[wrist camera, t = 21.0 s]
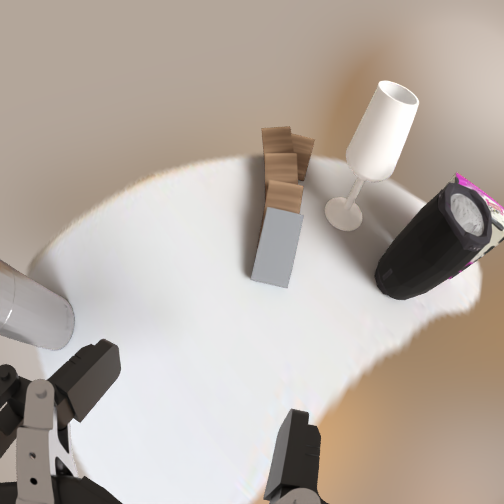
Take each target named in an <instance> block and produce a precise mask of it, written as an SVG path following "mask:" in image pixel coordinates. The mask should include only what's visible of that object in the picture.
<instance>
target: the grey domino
mask: <svg viewBox="0 0 504 504" xmlns="http://www.w3.org/2000/svg"><path fill="white" fill-rule="evenodd" d="M303 217H304V215H301V214H297V213H292V212H288V211H284V210H279V209H275V208H270V207H267V211H266V216H265V220H264V224H263V229H262V233H261V237H260V242H259V246H258V250H257V255H256V259H255V263H254V267H253V272H252V276H251V280H253V281H257V282H262V283H266V284H270V285H275V286H279V287H283V288H288V284H289V280H290V275H291V271H292V267H293V262H294V258H295V254H296V249H297V245H298V240H299V236H300V231H301V226H302V222H303Z"/></svg>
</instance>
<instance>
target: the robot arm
mask: <svg viewBox="0 0 504 504" xmlns="http://www.w3.org/2000/svg"><path fill="white" fill-rule="evenodd" d="M73 329H74V314H73V310H72V308H71V306H70V304H69V303H68V301H67V300H66V299H64V298H63V297H61V296H59V295H57V294H55V293H54V292H52V291H50V290H49V289H47V288H45V287H43V286H42V285H40V284H38V283H37V282H35V281H33V280H32V279H30V278H28V277H27V276H25V275H24V274H22V273H20V272H19V271H17V270H16V269H14V268H12V267H11V266H10V265H8V264H7V263H5V262H3V261H2V260H0V335H1V336H5V337H7V338H11V339H14V340H17V341H20V342H24V343H27V344H31V345H34V346H37V347H41V348H45V349H49V350H59V349H62V348H63V347H64V346H65V345H66V344H67V343H68V342H69V340H70V338H71V336H72V333H73ZM120 371H121V364H120V357H119V348H118V346H117V345H115V344H113V343H111V342H109V341H107V340H106V339H101V340H100V341H99V342H98V343H97V344H96V345H95V346H94V345H92V344H90V345H88V346H85V347H83V348H81V349H80V350H79V351H78V352H77V353H76V354H75V356H72V357H71V358H70V359H69V361H67V362H66V363H65V364H64V365H63V366H62V367H61V368H60V369H58V370H57V371H56V372H55V373H54V374H53V375H52V376H51V377H50V378H49V379H47V380H44V379H38V380H34V381H30V380H27V379H25V378H23V377H20V376H18V374H17V373H16V370H15V369H14V368H13V367H12V366H11V365H7V364H5V365H1V366H0V408H1V407H2V406H3V405H4V404H5V403H6V402H7V404H6V405H5V407H4V408H3V409H2V410H1V411H0V458H1V457H2V456H3V454H4V453H5V452H6V450H7V449H8V448H9V446H10V445H11V444H12V442H13V441H14V440H15V439H16V437H17V441H16V442H17V443H16V471H17V482H5V483H0V504H122V503H121V502H120V501H119V500H117V499H116V498H115V497H114V496H113V495H112V494H110V493H109V492H108V491H107V490H106V489H105V488H103V487H101V486H100V485H98V484H96V483H95V482H93V481H91V480H90V479H88V478H87V477H85V476H84V477H83V478H82V479H81V478H78V472H77V468H76V465H75V462H74V460H73V455H72V444H71V428H70V421H71V420H72V419H73V418H74V419H76V420H77V421H78V422H80V423H81V421H82V420H83V419H84V418H85V416H86V415H87V414H88V413H89V412H90V410H91V409H92V408H93V407H94V406H95V404H96V403H97V402H98V401H99V400H100V398H101V397H102V396H103V395H104V394H105V392H106V391H107V390H108V389H109V388H110V386H111V385H112V384H113V383H114V382H115V381H116V379H117V378H118V376H119V374H120ZM308 420H309V413H308V412H305V411H300V410H295V409H291V410H290V411H289V413H288V415H287V417H286V418H285V420H284V422H283V423H282V425H281V427H280V429H279V432H278V435H277V439H276V444H275V449H274V454H273V459H272V463H271V468H270V473H269V477H268V481H267V486H266V490H265V494H264V498H263V499H264V500H269V501H270V503H269V504H328V503H326V502H325V501H323V500H322V499H321V498H320V496H319V494H318V491H317V480H318V470H319V456H320V444H321V442H320V441H321V435H320V433H319V430H318V428H317V426H314V425H308Z"/></svg>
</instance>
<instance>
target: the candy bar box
mask: <svg viewBox="0 0 504 504" xmlns="http://www.w3.org/2000/svg"><path fill="white" fill-rule="evenodd" d="M449 182H450V183H458V184H460V185H463V186H465V187H468V188H470V189H473V190H476V191H477V192H478V194H479V195H480V196H481V197H482V198H483V199H484V200H485V201H486V203H487V205H488V207H489V209H490V211H491V216H492V236H491V240H490V243H489V244H487V245H486V246H485V247H484V248H483V249H482V250H481V251H480V252H479V253H478V254H477V255H476V256H475V257H474V258H473V259H472V260H471V261H470V262H469V263H468V264H467V265H466V266H465V267H464V268H463V269H462V270H460V271H459V272H457V273H456V274H454V275H453V276H451V277H450V278H449V279H451V278H453V277H454V276H456V275H457V274H459V273H460V272H462V271H463V270H464V269H466V268H467V267H469V266H470V265H471V264H473V263H474V262H476V261H477V260H478V259H479V258H481V257H482V256H484V255H485V254H486V253H488V252H489V251H490V250H492V249H493V248H494V247H495V246H497V245H498V244H499V243H500V242H502V241H503V240H504V208H503V207H502V206H501V205H500V204H498V203H497V202H496V201H495V200H494V199H492V198H491V197H490V196H488V195H487V194H486V193H485V192H483V191H482V190H480V189H479V188H478V187H477V186H475V185H474V184H473V183H471V182H470V181H468V180H467V179H466V178H464V177H463V176H461V175H460V174H458V173H457V172H456V173H455V174H454V176H453V177H452V178H451V179H450V181H449ZM449 182H448V183H449ZM448 183H447V184H448ZM445 187H446V186H445ZM445 187H444V188H445Z"/></svg>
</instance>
